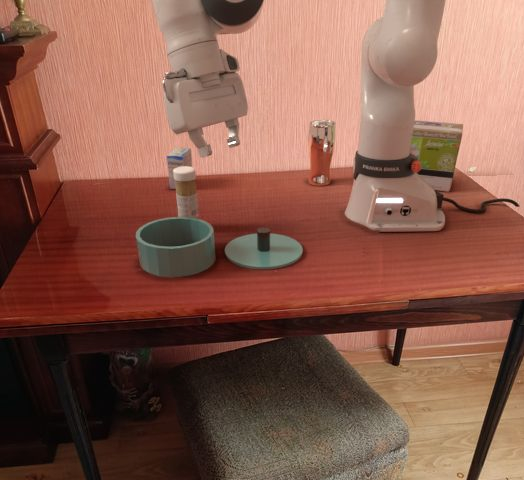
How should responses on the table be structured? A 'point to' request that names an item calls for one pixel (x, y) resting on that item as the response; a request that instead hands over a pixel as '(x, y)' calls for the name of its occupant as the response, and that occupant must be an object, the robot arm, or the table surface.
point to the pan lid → (263, 250)
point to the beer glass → (321, 151)
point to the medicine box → (178, 162)
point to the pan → (177, 257)
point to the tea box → (436, 151)
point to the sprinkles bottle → (186, 192)
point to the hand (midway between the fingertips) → (221, 151)
